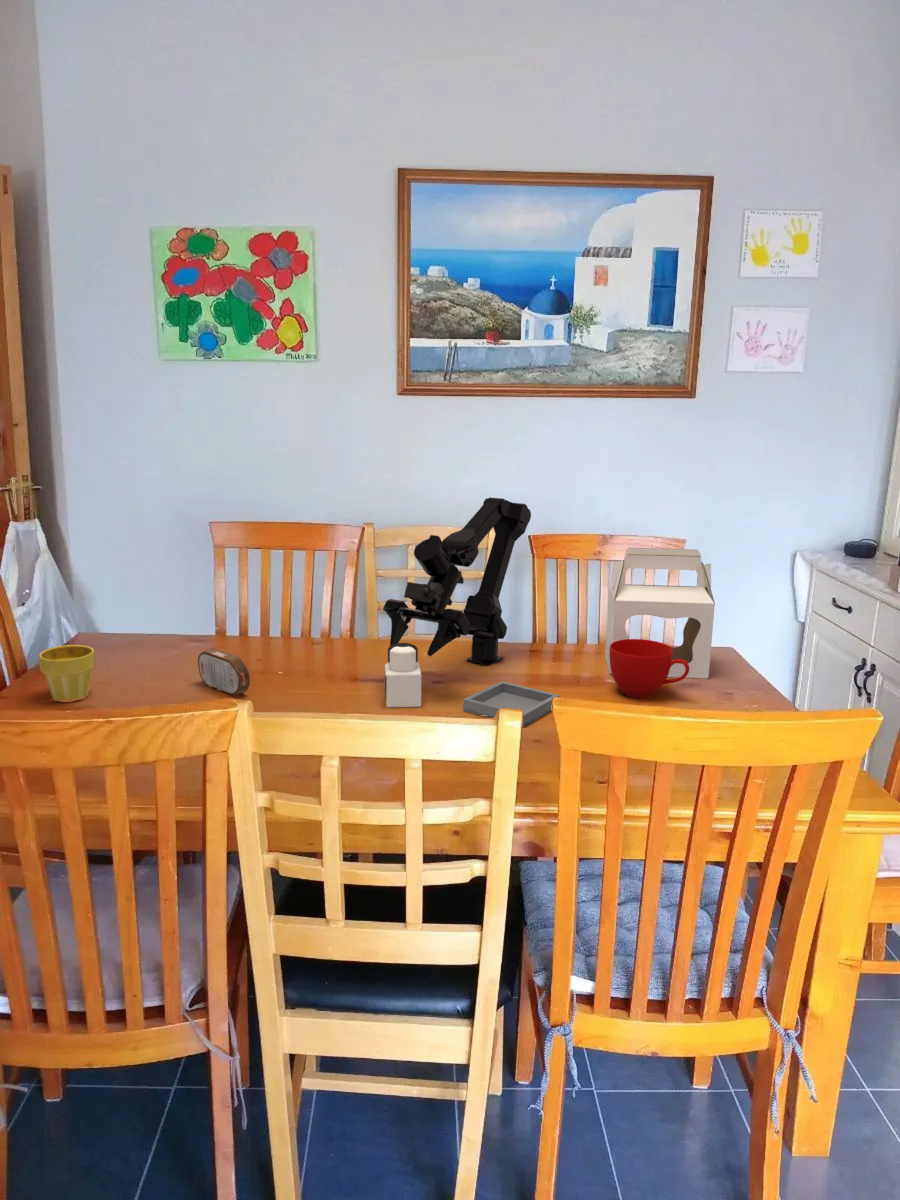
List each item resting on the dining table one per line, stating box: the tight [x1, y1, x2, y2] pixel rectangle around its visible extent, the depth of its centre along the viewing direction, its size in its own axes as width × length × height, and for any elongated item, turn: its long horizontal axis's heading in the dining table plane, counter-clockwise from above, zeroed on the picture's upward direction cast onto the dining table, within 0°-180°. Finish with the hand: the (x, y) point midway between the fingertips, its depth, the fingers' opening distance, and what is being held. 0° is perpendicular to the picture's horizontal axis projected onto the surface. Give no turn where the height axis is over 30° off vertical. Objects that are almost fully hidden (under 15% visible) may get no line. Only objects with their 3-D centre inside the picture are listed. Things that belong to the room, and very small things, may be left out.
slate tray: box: [462, 680, 561, 728], centre depth 177 cm, size 14×14×2 cm
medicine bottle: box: [384, 642, 422, 708], centre depth 179 cm, size 7×7×12 cm
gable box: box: [605, 547, 716, 680], centre depth 201 cm, size 22×13×28 cm, turn 85°
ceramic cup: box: [610, 638, 689, 699], centre depth 185 cm, size 13×17×10 cm
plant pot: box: [38, 644, 96, 700], centre depth 180 cm, size 10×10×10 cm
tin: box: [197, 647, 251, 697], centre depth 185 cm, size 15×3×8 cm, turn 50°
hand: (409, 651), depth 180 cm, fingers open, 9 cm apart
